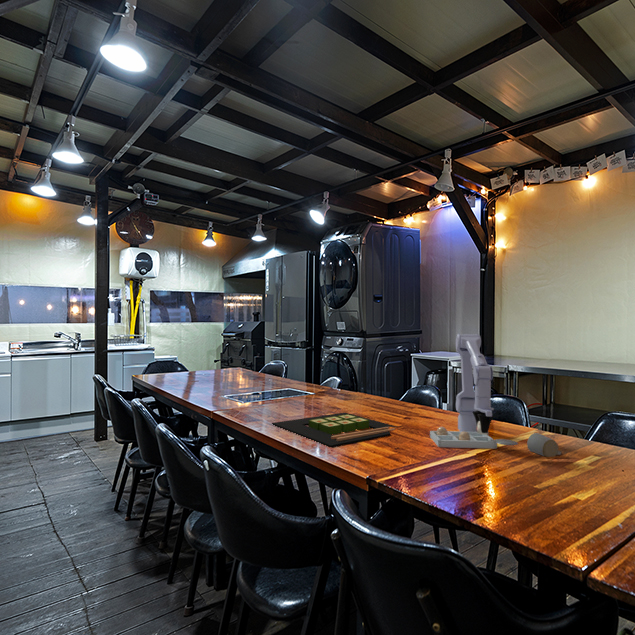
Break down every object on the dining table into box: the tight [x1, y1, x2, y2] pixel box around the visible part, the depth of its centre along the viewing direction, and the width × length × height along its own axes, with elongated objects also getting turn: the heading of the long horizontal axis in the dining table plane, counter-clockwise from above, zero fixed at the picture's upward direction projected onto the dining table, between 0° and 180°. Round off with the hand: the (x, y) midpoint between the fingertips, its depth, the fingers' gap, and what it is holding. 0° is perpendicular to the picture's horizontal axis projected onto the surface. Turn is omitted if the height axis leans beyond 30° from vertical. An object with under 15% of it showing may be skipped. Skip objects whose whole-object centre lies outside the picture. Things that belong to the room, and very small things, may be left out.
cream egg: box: [477, 421, 489, 435], centre depth 166 cm, size 4×4×5 cm
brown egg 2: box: [459, 431, 470, 440], centre depth 166 cm, size 4×4×5 cm
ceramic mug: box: [526, 432, 562, 458], centre depth 156 cm, size 11×8×8 cm
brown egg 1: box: [436, 426, 448, 435], centre depth 173 cm, size 4×4×5 cm
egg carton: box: [429, 430, 498, 450], centre depth 169 cm, size 15×22×4 cm
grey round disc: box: [494, 438, 519, 446], centre depth 170 cm, size 9×9×1 cm
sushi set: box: [271, 412, 399, 448], centre depth 195 cm, size 45×45×4 cm
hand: (482, 431), depth 166 cm, fingers closed on cream egg, 4 cm apart
